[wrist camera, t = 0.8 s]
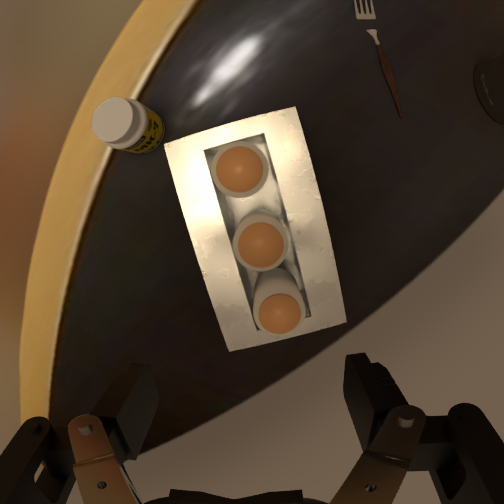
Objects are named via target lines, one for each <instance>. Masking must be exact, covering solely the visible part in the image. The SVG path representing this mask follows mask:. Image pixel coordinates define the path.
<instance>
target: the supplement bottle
mask: <svg viewBox="0 0 504 504" xmlns="http://www.w3.org/2000/svg"><path fill="white" fill-rule="evenodd" d="M92 129H93V132H94V134H95V136H96V137H97V138H98V139H100V140H101V141H104V142H105V143H106V144H107V145H108V146H110V147H112V148H115V149H119V150H124V151H129V152H134V153H148V152H150V151H152V150H154V149H155V148H156V147H157V146H158V145H159V144H160V143H161V141H162V139H163V136H164V131H165V127H164V123H163V120H162V119H161V117H160V116H159V115H158V114H157V113H155V112H154V111H152V110H151V109H149V108H148V107H146V106H144V105H143V104H141V103H140V102H138V101H136V100H134V99H128V98H127V99H124V98H122V97H111V98H108V99H106V100H104V101H103V102H102V103H101V104H100V105H99V106H98V107H97V108H96V110H95V112H94V114H93V118H92Z"/></svg>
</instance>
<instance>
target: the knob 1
mask: <svg viewBox="0 0 504 504" xmlns="http://www.w3.org/2000/svg"><path fill="white" fill-rule="evenodd" d="M268 173H269V166H268V161H267V158H266V157H265V155H264V153H263V152H262V151H261V150H260V149H259V148H258V147H257V146H255V145H253V144H251V143H248V142H244V141H236V142H232V143H229V144H227V145H225V146H223V147H222V148H221V149H220V150H219V151H218V152H217V153H216V155H215V156H214V158H213V161H212V165H211V175H212V178H213V181H214V183H215V185H216V186H217V188H218V189H219V190H220V191H221V192H223V193H224V194H226V195H228V196H231V197H235V198H245V197H249V196H251V195H253V194H255V193H257V192H258V191H259V190H260V189H261V188H262V187H263V186H264V184H265V182H266V180H267V177H268Z"/></svg>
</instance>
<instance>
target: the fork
mask: <svg viewBox="0 0 504 504" xmlns="http://www.w3.org/2000/svg"><path fill="white" fill-rule="evenodd" d="M370 3H371V14H370V13H369V9H368V5H367V0H365V6H366V14H365V13H364V11H363V6H362V2H361V0H360V9H361V14H359V12H358V8H357V4H356V0H354V4H355V12H356V18H357V19H376V16H375V13H374V8H373V4H372V0H370ZM367 32H368V33H369V34H370V35H371V36H372V37H373V38H374V41H375V44H376V48H377V52H378V56H379V61H380V65H381V68H382V72H383V74H384V77H385V79H386V82H387V84H388V87H389V89H390V91H391V94H392V97H393V99H394V102H395V105H396V108H397V111H398V113H399V116H400V118H402V114H401V108H400V103H399V99H398V94H397V89H396V85H395V80H394V76H393V72H392V69H391V67H390V65H389V62H388V60H387V58H386V56H385V54H384V52H383V50H382V48H381V46H380V44H379V42H378V39H377V36H376V33H377V30H374V29H371V30H367Z"/></svg>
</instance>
